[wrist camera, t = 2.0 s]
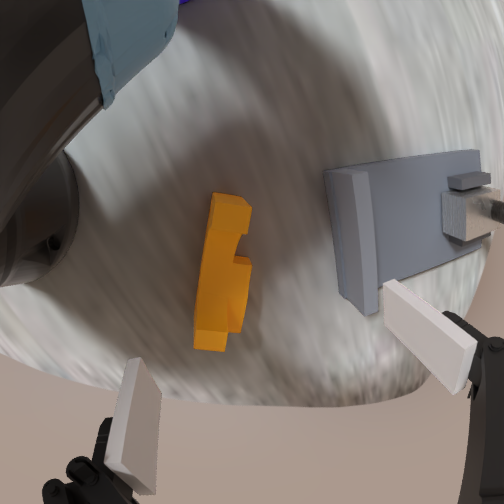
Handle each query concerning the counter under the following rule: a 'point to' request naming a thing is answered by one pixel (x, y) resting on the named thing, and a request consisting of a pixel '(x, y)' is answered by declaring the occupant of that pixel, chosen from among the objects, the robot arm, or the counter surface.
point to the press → (395, 219)
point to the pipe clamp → (222, 274)
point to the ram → (471, 212)
